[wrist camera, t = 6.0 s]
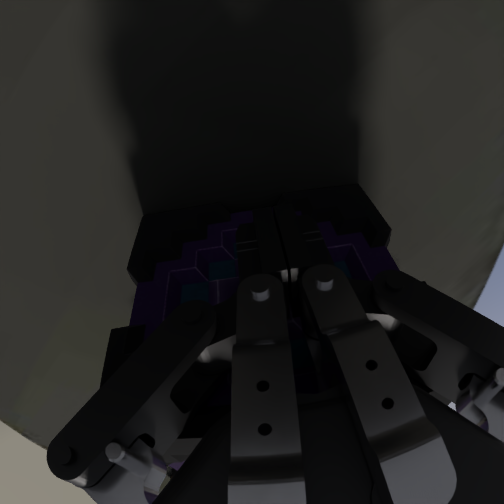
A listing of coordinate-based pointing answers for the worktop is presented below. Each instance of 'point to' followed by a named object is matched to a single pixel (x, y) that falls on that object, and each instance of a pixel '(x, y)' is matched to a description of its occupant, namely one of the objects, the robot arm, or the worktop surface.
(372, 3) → the worktop surface
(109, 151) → the worktop surface
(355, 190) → the energy cube
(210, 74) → the worktop surface
